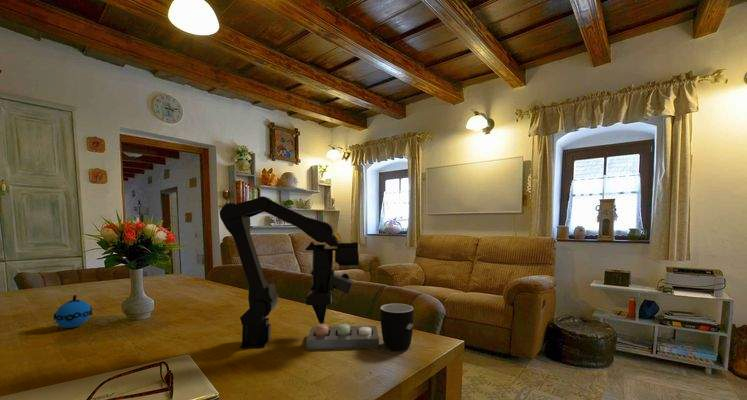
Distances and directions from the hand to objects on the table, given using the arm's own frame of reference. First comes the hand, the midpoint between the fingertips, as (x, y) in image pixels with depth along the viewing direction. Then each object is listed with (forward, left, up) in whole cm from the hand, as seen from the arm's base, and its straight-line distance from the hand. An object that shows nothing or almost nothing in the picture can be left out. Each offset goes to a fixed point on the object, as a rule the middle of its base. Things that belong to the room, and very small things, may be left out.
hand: (321, 323), depth 86 cm
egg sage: (+6, 0, -4) cm, 7 cm away
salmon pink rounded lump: (0, 0, -4) cm, 4 cm away
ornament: (-80, +17, -5) cm, 82 cm away
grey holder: (+6, 0, -5) cm, 8 cm away
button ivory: (+12, 0, -5) cm, 13 cm away
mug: (+21, -3, -5) cm, 22 cm away
